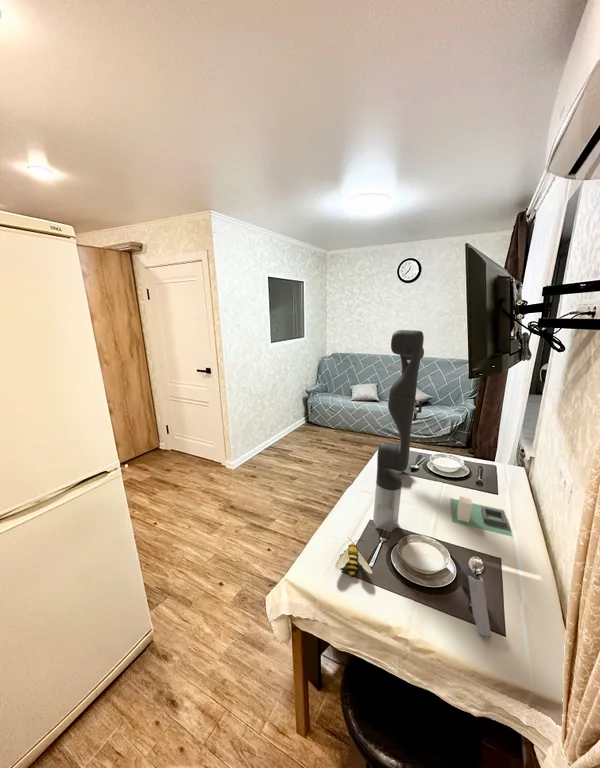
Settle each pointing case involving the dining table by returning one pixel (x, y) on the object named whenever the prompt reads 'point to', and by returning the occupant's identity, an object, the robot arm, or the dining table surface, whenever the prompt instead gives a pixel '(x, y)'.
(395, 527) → the robot arm
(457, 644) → the dining table surface
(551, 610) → the dining table surface
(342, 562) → the insect
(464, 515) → the plug
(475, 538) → the dining table surface
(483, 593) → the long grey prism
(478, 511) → the board
